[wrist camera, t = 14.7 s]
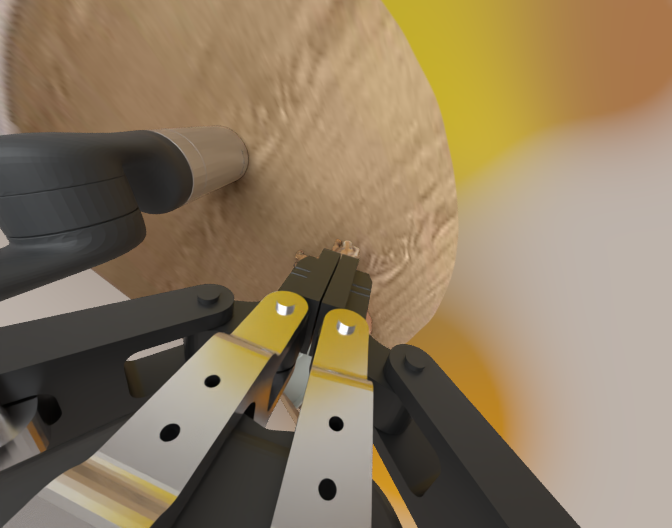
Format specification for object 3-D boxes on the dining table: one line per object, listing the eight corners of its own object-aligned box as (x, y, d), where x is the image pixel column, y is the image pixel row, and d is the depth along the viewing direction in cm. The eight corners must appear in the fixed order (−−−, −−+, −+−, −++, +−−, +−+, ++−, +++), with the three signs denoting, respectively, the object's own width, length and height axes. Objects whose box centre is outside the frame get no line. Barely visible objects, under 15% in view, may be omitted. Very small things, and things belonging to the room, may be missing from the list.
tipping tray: (288, 405, 54) (325, 465, 40) (264, 376, 51) (296, 431, 37) (338, 358, 58) (387, 398, 45) (319, 329, 55) (365, 363, 42)
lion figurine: (354, 224, 53) (351, 243, 45) (366, 248, 55) (365, 270, 47) (288, 254, 57) (274, 276, 49) (301, 275, 59) (290, 300, 51)
